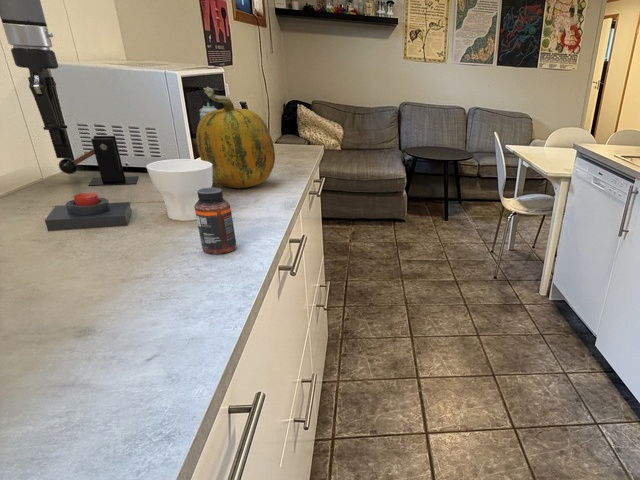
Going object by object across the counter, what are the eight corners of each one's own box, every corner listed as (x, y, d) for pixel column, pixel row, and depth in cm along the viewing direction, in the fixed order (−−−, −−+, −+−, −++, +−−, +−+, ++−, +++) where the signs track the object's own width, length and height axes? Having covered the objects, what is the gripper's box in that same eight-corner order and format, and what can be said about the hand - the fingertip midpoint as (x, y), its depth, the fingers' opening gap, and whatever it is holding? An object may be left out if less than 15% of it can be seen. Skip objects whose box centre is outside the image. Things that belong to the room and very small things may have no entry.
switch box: (48, 231, 91) (41, 211, 89) (58, 215, 99) (52, 197, 97) (127, 225, 97) (122, 206, 95) (131, 211, 104) (127, 193, 102)
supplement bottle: (238, 242, 92) (229, 185, 87) (236, 254, 88) (227, 194, 82) (204, 244, 91) (193, 186, 85) (200, 256, 86) (188, 194, 80)
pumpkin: (197, 194, 119) (177, 86, 108) (212, 176, 136) (197, 81, 124) (274, 194, 124) (264, 91, 112) (280, 177, 140) (271, 85, 129)
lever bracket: (89, 189, 116) (75, 140, 111) (94, 182, 123) (81, 134, 117) (137, 187, 121) (125, 140, 115) (139, 180, 127) (128, 134, 121)
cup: (184, 204, 111) (175, 156, 106) (232, 211, 109) (224, 162, 104) (143, 219, 100) (131, 167, 95) (195, 227, 99) (185, 174, 93)
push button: (74, 207, 94) (71, 198, 93) (77, 201, 97) (75, 193, 96) (98, 206, 95) (96, 197, 94) (101, 200, 98) (98, 192, 98)
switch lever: (66, 178, 115) (53, 165, 113) (69, 174, 118) (56, 162, 116) (115, 149, 117) (103, 136, 115) (116, 147, 120) (105, 134, 117)
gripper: (46, 50, 100) (78, 162, 111) (59, 48, 110) (87, 152, 121) (1, 47, 97) (38, 163, 108) (18, 46, 107) (51, 152, 118)
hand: (64, 157), depth 115 cm, fingers closed
